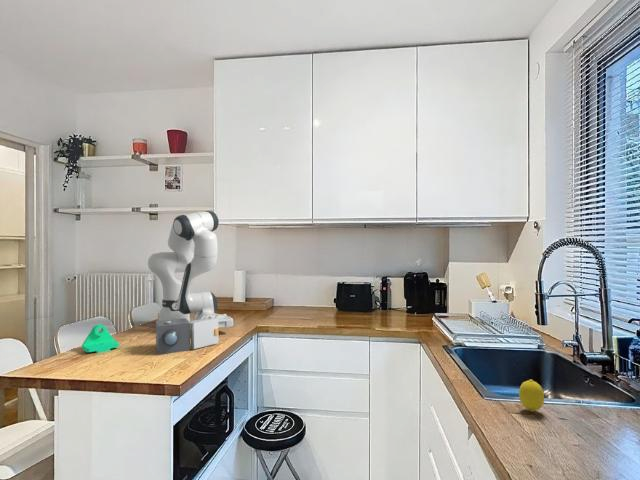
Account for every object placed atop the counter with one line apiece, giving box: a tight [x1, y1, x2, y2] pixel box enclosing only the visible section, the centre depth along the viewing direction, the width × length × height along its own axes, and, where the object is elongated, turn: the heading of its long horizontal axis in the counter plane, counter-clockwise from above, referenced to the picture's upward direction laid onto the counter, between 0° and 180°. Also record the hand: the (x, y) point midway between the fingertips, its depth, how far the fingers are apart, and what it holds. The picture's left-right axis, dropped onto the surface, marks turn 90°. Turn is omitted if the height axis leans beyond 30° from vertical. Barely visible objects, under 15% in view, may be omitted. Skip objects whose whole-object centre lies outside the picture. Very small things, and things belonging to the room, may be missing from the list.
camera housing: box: [155, 318, 191, 355], centre depth 162 cm, size 14×12×12 cm
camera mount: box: [81, 323, 120, 354], centre depth 163 cm, size 12×8×10 cm, turn 134°
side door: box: [190, 319, 220, 350], centre depth 165 cm, size 13×2×10 cm, turn 141°
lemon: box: [518, 379, 545, 413], centre depth 99 cm, size 6×6×8 cm
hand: (214, 327), depth 179 cm, fingers closed
